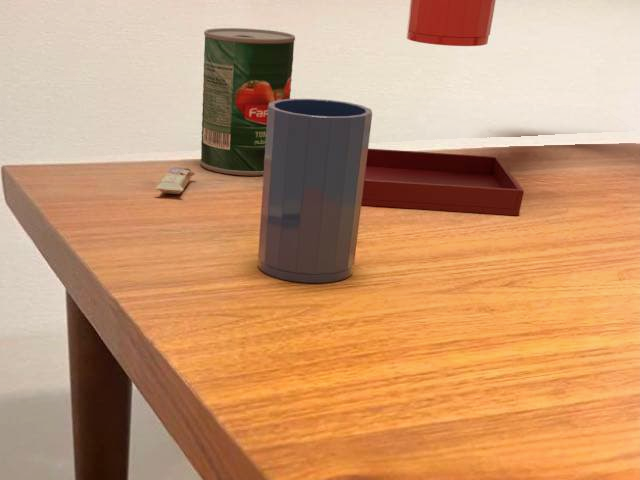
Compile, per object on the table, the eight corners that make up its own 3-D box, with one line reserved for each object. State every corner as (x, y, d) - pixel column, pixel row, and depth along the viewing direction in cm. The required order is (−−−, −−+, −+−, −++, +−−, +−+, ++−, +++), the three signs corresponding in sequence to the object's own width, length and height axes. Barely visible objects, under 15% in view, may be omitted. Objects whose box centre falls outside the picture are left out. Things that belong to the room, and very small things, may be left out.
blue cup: (351, 256, 68) (369, 102, 62) (354, 286, 62) (374, 120, 57) (260, 250, 68) (270, 96, 63) (255, 279, 63) (266, 113, 57)
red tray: (494, 179, 90) (498, 156, 89) (518, 215, 79) (524, 190, 78) (335, 169, 91) (337, 146, 89) (338, 203, 80) (340, 178, 79)
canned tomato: (218, 153, 94) (224, 25, 88) (296, 163, 92) (307, 33, 86) (186, 169, 88) (190, 32, 82) (268, 180, 85) (278, 41, 79)
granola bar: (181, 186, 78) (146, 180, 78) (180, 201, 78) (145, 195, 79) (205, 167, 83) (172, 161, 84) (204, 180, 84) (172, 175, 85)
